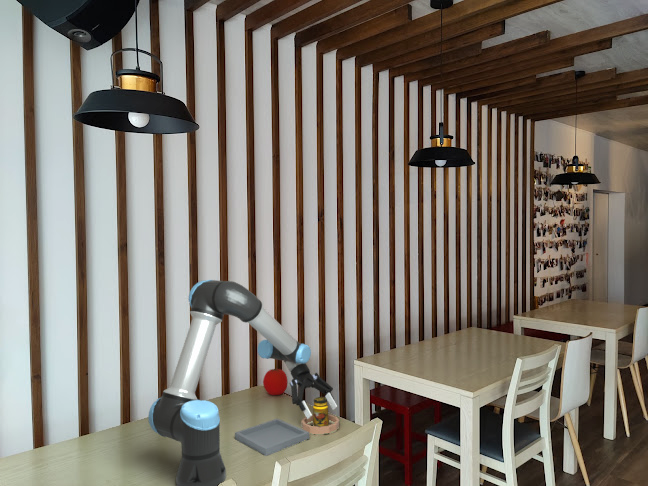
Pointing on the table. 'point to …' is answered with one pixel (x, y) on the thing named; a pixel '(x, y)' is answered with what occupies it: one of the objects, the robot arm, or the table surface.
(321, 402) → the condiment
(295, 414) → the table surface
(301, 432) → the tray
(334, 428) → the ring holder
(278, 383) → the tomato
